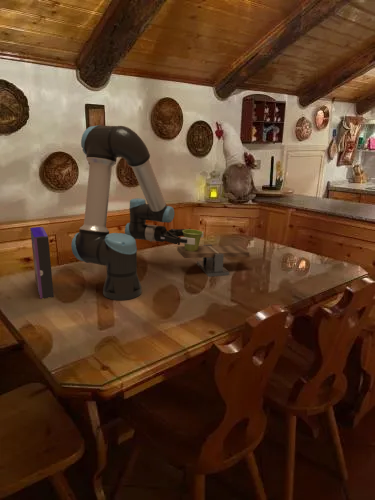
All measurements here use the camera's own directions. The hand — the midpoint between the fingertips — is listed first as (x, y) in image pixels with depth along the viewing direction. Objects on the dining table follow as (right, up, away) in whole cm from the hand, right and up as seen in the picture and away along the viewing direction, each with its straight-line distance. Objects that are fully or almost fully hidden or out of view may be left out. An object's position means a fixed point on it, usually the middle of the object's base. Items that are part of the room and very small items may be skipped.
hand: (199, 238), depth 164 cm
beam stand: (+6, -15, +9) cm, 18 cm away
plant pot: (-4, -6, +3) cm, 7 cm away
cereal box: (-63, -22, -20) cm, 70 cm away
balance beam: (+7, -7, +6) cm, 12 cm away
